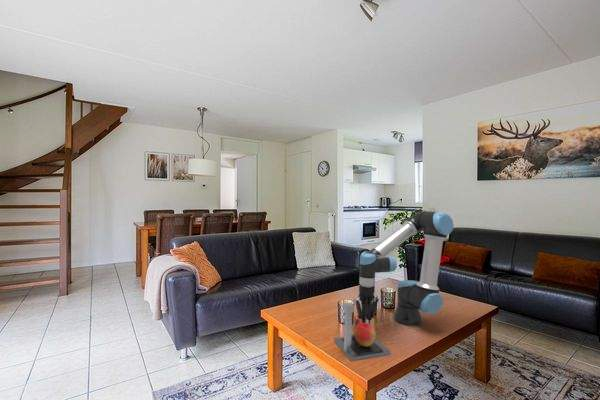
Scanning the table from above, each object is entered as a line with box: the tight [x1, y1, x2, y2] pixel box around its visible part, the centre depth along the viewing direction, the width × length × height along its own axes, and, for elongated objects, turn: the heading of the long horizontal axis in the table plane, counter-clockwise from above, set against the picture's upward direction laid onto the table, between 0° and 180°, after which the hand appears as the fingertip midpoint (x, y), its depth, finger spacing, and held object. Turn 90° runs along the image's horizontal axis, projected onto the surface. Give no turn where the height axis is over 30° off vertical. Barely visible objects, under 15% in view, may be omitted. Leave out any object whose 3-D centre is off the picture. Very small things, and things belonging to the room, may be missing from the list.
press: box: [333, 302, 392, 362], centre depth 140 cm, size 21×18×22 cm
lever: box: [351, 315, 361, 339], centre depth 146 cm, size 4×3×11 cm
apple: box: [353, 321, 377, 347], centre depth 138 cm, size 10×10×10 cm
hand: (365, 332), depth 148 cm, fingers closed
